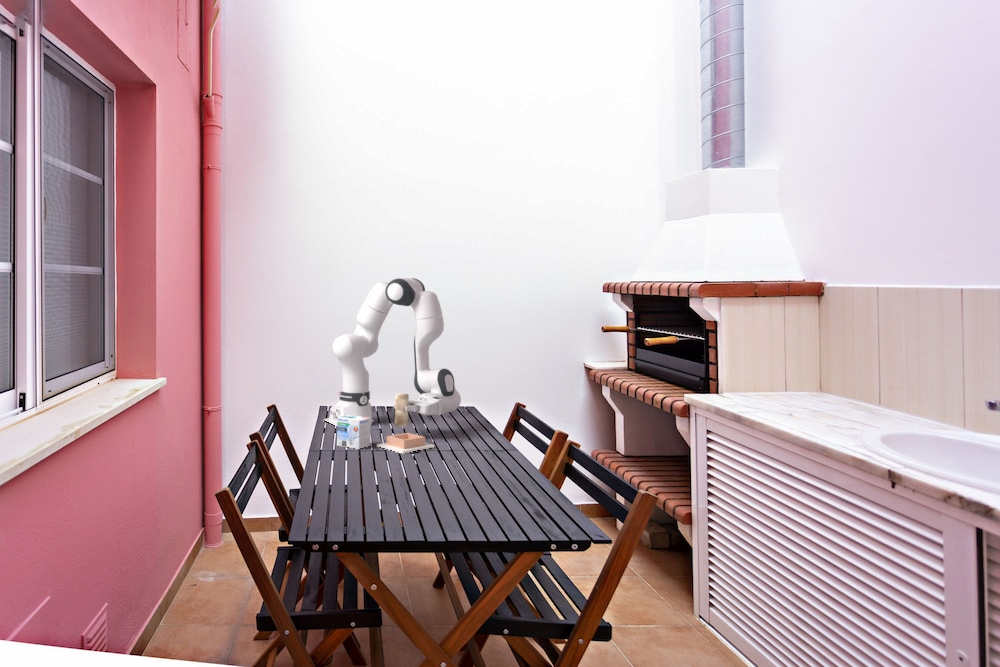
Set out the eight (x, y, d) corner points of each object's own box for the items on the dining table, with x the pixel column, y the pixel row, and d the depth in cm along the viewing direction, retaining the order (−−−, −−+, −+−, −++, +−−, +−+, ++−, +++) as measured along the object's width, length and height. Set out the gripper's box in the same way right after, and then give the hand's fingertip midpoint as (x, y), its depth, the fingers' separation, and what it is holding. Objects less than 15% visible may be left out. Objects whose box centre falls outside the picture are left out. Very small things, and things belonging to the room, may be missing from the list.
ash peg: (392, 425, 275) (392, 394, 274) (402, 423, 278) (403, 393, 277) (400, 427, 271) (401, 396, 270) (410, 425, 275) (411, 394, 274)
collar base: (376, 446, 260) (376, 436, 260) (408, 441, 271) (408, 430, 271) (402, 454, 250) (403, 442, 250) (434, 447, 261) (434, 437, 261)
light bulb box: (336, 446, 260) (336, 417, 260) (348, 443, 266) (348, 414, 266) (359, 449, 255) (359, 420, 255) (371, 446, 261) (371, 417, 261)
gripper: (410, 393, 291) (383, 396, 280) (444, 399, 277) (417, 403, 267) (410, 408, 291) (383, 411, 281) (443, 415, 277) (416, 419, 267)
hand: (400, 407), depth 274 cm, fingers closed on ash peg, 5 cm apart
